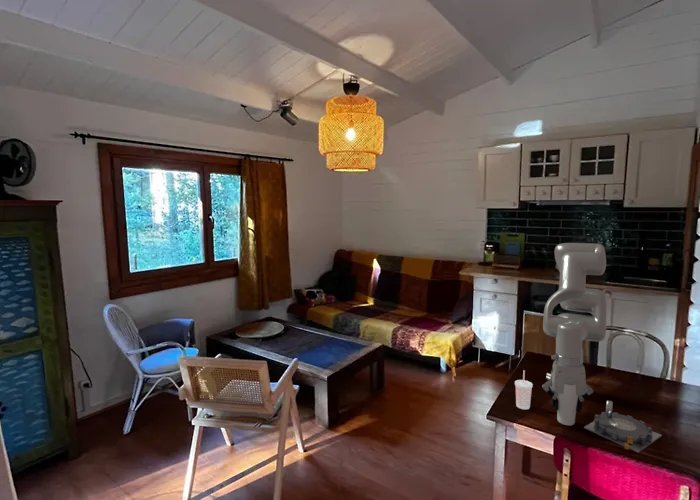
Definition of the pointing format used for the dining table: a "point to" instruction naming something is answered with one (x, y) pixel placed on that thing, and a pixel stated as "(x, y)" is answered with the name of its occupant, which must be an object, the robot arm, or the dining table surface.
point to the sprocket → (622, 426)
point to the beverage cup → (523, 393)
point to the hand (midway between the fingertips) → (566, 409)
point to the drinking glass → (567, 405)
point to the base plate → (635, 446)
